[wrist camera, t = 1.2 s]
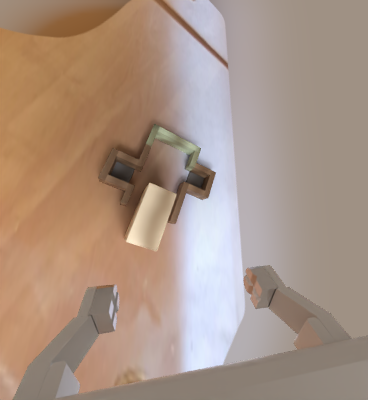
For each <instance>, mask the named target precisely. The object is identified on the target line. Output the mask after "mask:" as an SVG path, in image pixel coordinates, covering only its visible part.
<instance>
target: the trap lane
mask: <svg viewBox="0 0 368 400" xmlns="http://www.w3.org/2000/svg"><path fill="white" fill-rule="evenodd" d="M155 138H156V139H158V140H160V141H162V142H164V143H166V144H168V145H170V146H172V147H174V148H176V149H178V150H180V151H182V152H184V153H186V154H188V155H190V157H189V160H188V162H187V165H186V168H185V169H186V170H188V171H190V173H189V176H188V179H187V182H183V183H181V184H180V185H179V188H178V191H177V195H176V198H175V201H174V204H173V207H172V209H171V212H170V215H169V218H168V221H167V222H168V223H171V224H175V223H176V221H177V218H178V215H179V212H180V209H181V206H182V203H183V200H184V198H185V195H186V193H188V194H190V195H192V196H195V197H197V198H199V199H201V200H203V199H206V198H208V197H209V194H210V190H211V187H212V184H213V180H214V177H215V174H216V172H214V171H212V170H210V169H208V168H206V167H204V166H202V165H200V164H198V163H196V162H197V159H198V156H199V153H200V150H201V148H199V147H198V146H196V145H194V144H192V143H190V142H188V141H186V140H184V139H182V138H180V137H179V136H177V135H175V134H173V133H171V132H169V131H167V130H165V129H163V128H161V127H160V126H158V125H156V124H154V126H153V129H152V131H151V133H150V135H149V138H148V140H147V142H146V145H145V147H144V149H143V152H142V154H141V156H140V158H139V160H138V159H136V158H134V157H132V156H130V155H127V154H125V153H123V152H121V151H119V150H117V149H114V148H113V149H112V151H111V153H110V155H109V157H108V159H107V161H106V163H105V165H104V167H103V169H102V171H101V173H100V175H99V177H98V178H99V181H100V182H102V183H105V184H107V185H110V186H112V187H115V188H117V189H120V190H122V191H125V193H124V195H123V197H122V200H121V202H120V205H123V206H126V205H127V203H128V200H129V198H130V196H131V193H132V191H133V189H134V185H132V184H130V183H129V181H130V179H131V177H132V175H133V172H134V170H137V171H140V172H141V170H142V167H143V165H144V163H145V160H146V158H147V156H148V153H149V151H150V149H151V146H152V144H153V142H154V139H155ZM130 167H131V168H130ZM113 168H114V169H113ZM112 170H113V171H112ZM111 172H112V173H111ZM110 174H111V175H110Z"/></svg>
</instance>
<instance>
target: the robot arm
mask: <svg viewBox="0 0 368 400" xmlns="http://www.w3.org/2000/svg"><path fill="white" fill-rule="evenodd" d="M246 273H247V275H246V276H245V277H244V286H245V289H246V291H247V292H248V293H249V294H251V301H252V302H253V304H254V306H255V308H256V309H258V308H266V307H269V309H270V310H271V311H273V312H274V313H275V314H276V315H277V316H278V317H279V318H280V319H281V320H282V321H284V322H285V323H286V324H287V325H288V326H289V327H290V328H291V329H292V330H294V331H295V332H296V333H297V334H298V335H297V337H296V338H295V340H294V345H295V346H296V348H297V350H294V351H288V352H284V353H278V354H273V355H269V356H264V357H259V358H254V359H249V360H244V361H239V362H234V363H229V364H224V365H219V366H214V367H209V368H204V369H199V370H194V371H189V372H184V373H179V374H174V375H169V376H164V377H159V378H154V379H149V380H144V381H139V382H134V383H129V384H124V385H119V386H114V387H109V388H104V389H99V390H94V391H89V392H85V393H80V394H78V392H79V388H80V383H79V382H78V380H77V379H76V377H75V376H74V374H73V373H74V372H75V370H76V369H77V367H78V366H79V364H80V363H81V361H82V360H83V358H84V357H85V355H86V354H87V352H88V351H89V349H90V348H91V346H92V345H93V343H94V342H95V340H96V339H97V337H98V336H99V335H98V334H103V333H108V332H113V331H115V328H116V322H117V316H116V313H117V311H118V309H119V294H118V292H117V286H116V285H106V286H95V287H88V288H87V290H86V292H85V295H84V297H83V300H82V303H81V306H80V309H79V312H78V315H77V317H75V318H73V319H72V320H71V321H70V322H69V323H68V324H67V325H66V326H65V328H64V329H63V330H62V331H61V332H60V333H59V334H58V335H57V336H56V337H55V338H54V339H53V340H52V341H51V342H50V343H49V345H48V346H47V347H46V348H45V349H44V350H43V351H42V352H41V353H40V354H39V355H38V356H37V357H36V358H35V359H34V360H33V362H32V363H31V364H30V365H29V366H28V368H27V370H26V372H25V374H24V376H23V379H22V381H21V383H20V385H19V387H18V389H17V391H16V394H15V396H14V398H13V400H368V336H363V337H358V338H353V339H352V338H351V337H350V336H349V335H348V333H347V332H346V331H345V330H344V329H343V328H342V326H341V325H340V324H339V323H338V322H337V321H336V319H335V318H334V317H333V316H332V314H331V313H329V312H327V311H326V310H324V309H323V308H321V307H320V306H318V305H316V304H315V303H313V302H312V301H310V300H308V299H307V298H305V297H304V296H302V295H300V294H299V293H297V292H296V291H294V290H293V289H291V288H290V287H286V286H285V284H284V283H283V282H282V280H281V279H280V278H279V276H278V275H277V274H276V272H275V271H274V269H273V268H272V267H271V266H270V265H268V266H259V267H252V268H247V269H246Z"/></svg>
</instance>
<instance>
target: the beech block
mask: <svg viewBox="0 0 368 400" xmlns="http://www.w3.org/2000/svg"><path fill="white" fill-rule="evenodd" d="M176 195H177V194H175V193H173V192H170V191H168V190H166V189H163V188H161V187H159V186H156V185H154V184H152V183H149V184H148V186H147V187H146V188H145V190H144V191H143V193H142V195H141V198H140V200H139V203H138V205H137V207H136V210H135V212H134V215H133V217H132V220H131V222H130V225H129V227H128V230H127V232H126V234H125V237H124V239H125V241H126V242H128V243H132V244H135V245H138V246H141V247H144V248H147V249H150V250H153V251H156V252H157V249H158V246H159V244H160V241H161V238H162V235H163V232H164V229H165V227H166V224H167V221H168V218H169V215H170V212H171V209H172V207H173V204H174V201H175V198H176Z"/></svg>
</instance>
